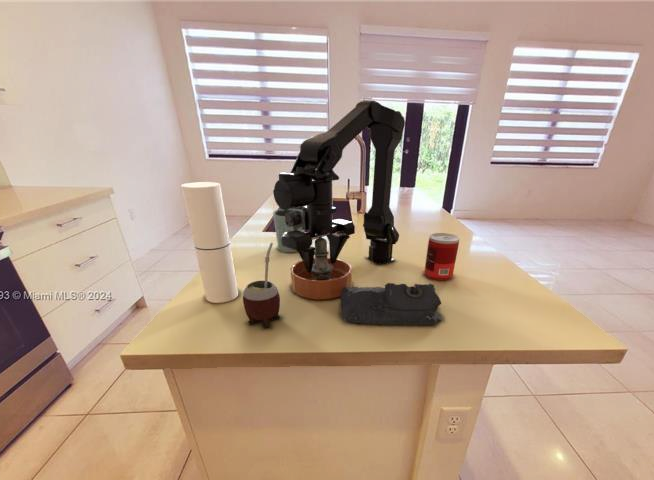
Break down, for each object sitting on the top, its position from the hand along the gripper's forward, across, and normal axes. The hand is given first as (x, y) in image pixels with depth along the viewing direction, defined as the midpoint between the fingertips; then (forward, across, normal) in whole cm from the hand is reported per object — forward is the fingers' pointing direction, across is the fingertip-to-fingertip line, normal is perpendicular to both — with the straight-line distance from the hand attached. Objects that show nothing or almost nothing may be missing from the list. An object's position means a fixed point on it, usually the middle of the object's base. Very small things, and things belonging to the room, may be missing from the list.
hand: (321, 267), depth 77 cm
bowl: (+5, 0, 0) cm, 5 cm away
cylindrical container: (+5, +20, -14) cm, 24 cm away
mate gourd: (+5, +19, +3) cm, 20 cm away
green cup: (+6, -13, -28) cm, 32 cm away
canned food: (+6, -27, +18) cm, 33 cm away
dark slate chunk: (+5, -3, +19) cm, 20 cm away
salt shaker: (+4, 0, 0) cm, 4 cm away
